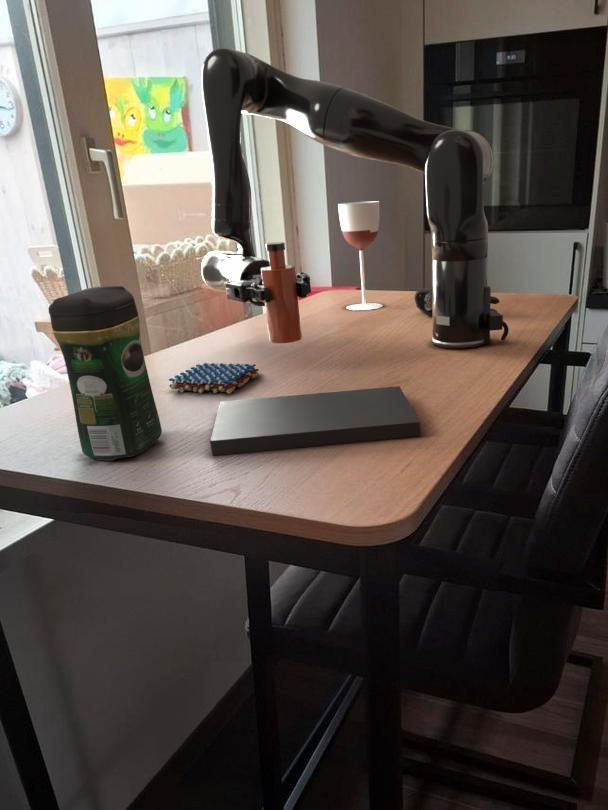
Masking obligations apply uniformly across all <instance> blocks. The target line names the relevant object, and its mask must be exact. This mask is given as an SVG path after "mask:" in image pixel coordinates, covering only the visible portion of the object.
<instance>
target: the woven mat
mask: <svg viewBox="0 0 608 810" xmlns="http://www.w3.org/2000/svg"><path fill="white" fill-rule="evenodd" d="M256 366H257V365H256V364H255V363H254V364H249V363H245V364H244V363H231V362H230V363H228V364H227V363H223V362H220V363H214V362H212V363H209V362H204V363H202V364H199V363H197V364H196V365H195V366H191V367H190V369H186V370H185V372H180V373H179V375H178V374H177V375H174V377H173V378H172V377H171V378H168V381H169V382H171V383H170V384H169V388H170V389H171V390H179V392H180V393H183V392H185V391H188V392H189V391H190V392H191V391H192V392H194V393H196V392H198V393H200V394H202V393H204V392H205V391H207V392H209V391H212V392H213V394H216V393H219V392H221V393H226V394H228V395H231V394H232V392H234V391H235V389H237V388H241V387H242V386H244V385H245V384H247V383H248V381H249V380H250V379H252V380H253V379H255V378H256V377H258V376H259V374H260V372H259V368H256Z"/></svg>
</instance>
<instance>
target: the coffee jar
mask: <svg viewBox="0 0 608 810" xmlns="http://www.w3.org/2000/svg"><path fill="white" fill-rule="evenodd" d="M48 314H49V318H50V325H51V329H52V334H53V337H54V339H55V340H56V342H57V344H58V346H59V348H60V351H61V353H62V356H63V360H64V362H65V368H66V373H67V378H68V383H69V387H70V388H69V389H70V392H71V393H70V394H71V397H72V403H73V409H74V416H75V422H76V429H77V433H78V438H79V443H80V447H81V452H82V454H83V455H85V456H86V457H89V458H92V459H95V460H98V461H116V460H117V459H122V458H131V457H136V456H138V455H139V454H141V453H143V452H144V451H146V450H147V449H148V448H150V447H151V446H153V444H155V443H156V442H157V441H158V440H159V439H160V437H161V436H162V432H163V429H162V425H161V420H160V416H159V411H158V409H157V408H158V407H157V405H156V400H155V397H154V393H153V389H152V385H151V381H150V377H149V372H148V369H147V363H146V360H145V356H144V350H143V345H142V339H141V328H140V327H141V326H140V316H139V312H138V307H137V304H136V302H135V297H134V295H133V293H131V291H129V290H128V289H127V288H125V287H124V286H122V285H105V286H104V285H103V286H101V285H100V286H92V287H88V288H84V289H81V290H78V291H76V292H71V293H70V294H67V295H64V296H61V297H58V298H55V299H54V300H53V301H52V303H51V304H50V305H49V306H48Z"/></svg>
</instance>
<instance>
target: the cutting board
mask: <svg viewBox="0 0 608 810" xmlns="http://www.w3.org/2000/svg"><path fill="white" fill-rule="evenodd" d="M214 421H215V422H214V425H213V427H212V433H211V437H210V440H209V444H210V450H211V455H212V456H224V455H234V454H235V455H236V454H243V453H244V454H246V453H256V452H266V451H267V452H268V451H276V450H287V449H299V448H307V447H309V448H310V447H321V446H330V445H342V444H352V443H353V444H354V443H363V442H364V443H365V442H372V441H373V442H374V441H382V440H384V441H385V440H395V439H404V438H416V437H420V436H421V421H420V420H419V418H418V415H416V413H415V411H414V409H413V407H412V406H411V403H410V402H409V401H408V398H407V397H406V395H405V393H404V391H403V389H402V388H401V386H400V385H395V386H384V387H373V388H363V389H360V388H359V389H352V390H351V389H350V390H338V391H330V392H329V391H327V392H317V393H305V394H294V395H292V394H291V395H281V396H271V397H270V396H269V397H258V398H249V399H248V398H247V399H236V400H224V401H220V402H219V406H218V409H217V414H216V417H215V420H214Z"/></svg>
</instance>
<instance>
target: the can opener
mask: <svg viewBox="0 0 608 810" xmlns="http://www.w3.org/2000/svg"><path fill="white" fill-rule="evenodd" d="M500 302H501V300H500V299H499V298H498V297H496V296H492V295H491V298H490V305H497V304H499V303H500ZM414 303H415V305H416V308H417V309H418V310H419V312H421V313H422V314H424V315H426V316H431V317H433V314H432V288H419V289H418V290H416V291H415V294H414ZM490 310H495V311H497V309H494V308H490Z"/></svg>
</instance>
